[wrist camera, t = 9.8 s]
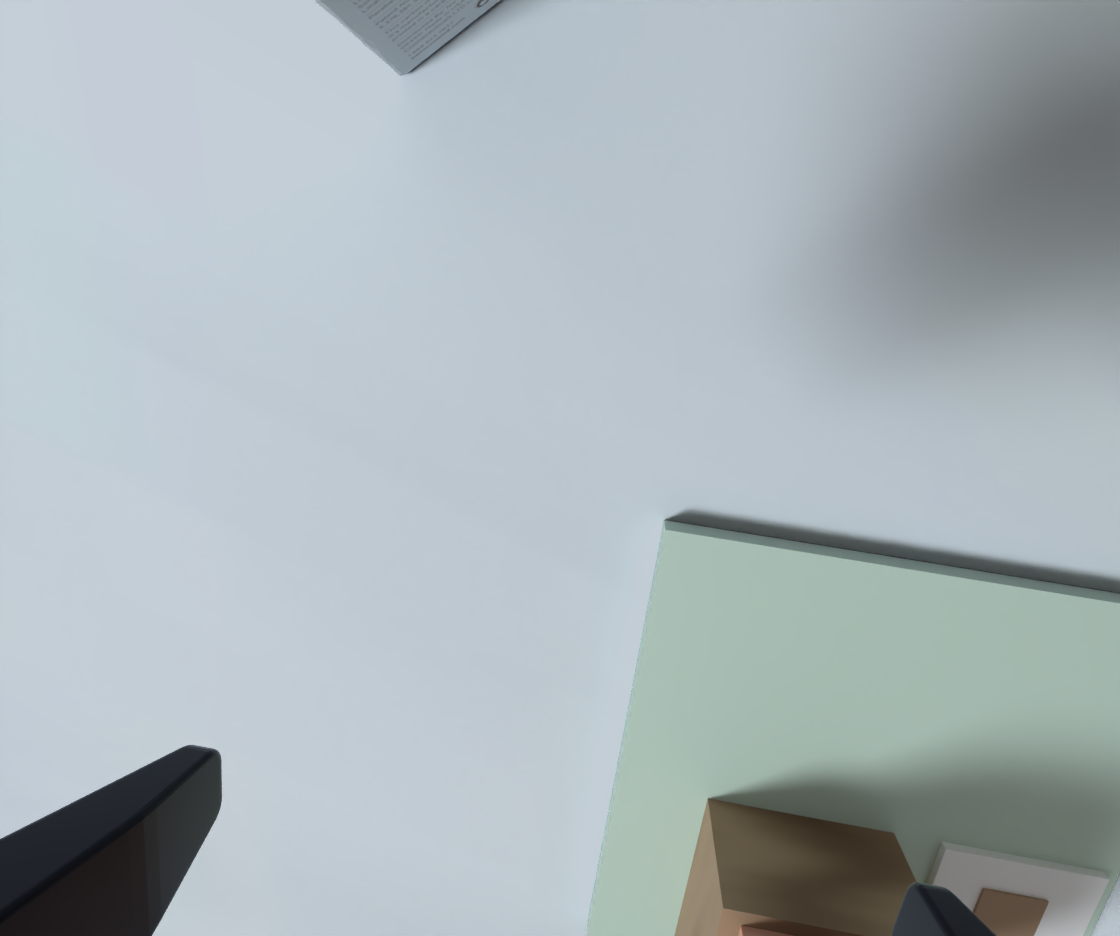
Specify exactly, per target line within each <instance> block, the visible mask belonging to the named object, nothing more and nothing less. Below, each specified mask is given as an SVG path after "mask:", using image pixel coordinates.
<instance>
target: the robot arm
mask: <svg viewBox="0 0 1120 936" xmlns="http://www.w3.org/2000/svg"><path fill="white" fill-rule="evenodd" d="M221 801H222V775H221V756H220V753H219V752H218V751H217V750H215V749H212V748H207V747H201V746H196V745H187V746H184V747H182V748H180V749H178V750H176V751H174V752H172V753H170V754H168V755H166V756H164V757H162V758H160V759H158V760H156V761H154V762H152V763H150V764H148V765H146V766H144V767H142V768H140V769H138V770H136V771H134V772H132V773H130V774H128V775H126V776H124V777H122V778H120V779H118V780H116V781H114V782H112V783H110V784H108V785H106V786H104V787H103V788H101V789H99V790H97V791H95V792H93V793H91V794H89V795H87V796H85V797H83V798H81V799H79V800H77V801H75V802H73V803H71V804H69V805H67V806H65V807H63V808H61V809H59V810H57V811H55V812H53V813H51V814H49V815H47V816H45V817H43V818H41V819H39V820H37V821H35V822H33V823H31V824H29V825H27V826H25V827H23V828H21V829H19V830H17V831H15V832H13V833H11V834H9V835H7V836H5V837H3V838H2V839H0V936H152V935H153V933H154V931H155V929H156V928H157V926H158V924H159V922H160V921H161V919H162V917H163V915H164V913H165V912H166V910H167V908H168V906H169V904H170V902H171V901H172V899H173V897H174V895H175V893H176V891H177V890H178V888H179V886H180V884H181V882H182V880H183V879H184V877H185V875H186V873H187V871H188V869H189V868H190V866H191V864H192V862H193V860H194V858H195V857H196V855H197V853H198V851H199V849H200V847H201V846H202V844H203V842H204V840H205V838H206V836H207V835H208V833H209V831H210V829H211V827H212V825H213V824H214V822H215V820H216V818H217V815H218V813H219V810H220V807H221ZM892 936H996V935H995V934H994V933H993V932H992V931H991V930H990V929H989V928H988V927H987V926H986V925H985V924H984V923H983V922H982V921H981V920H980V919H979V918H978V917H977V916H976V915H975V914H974V913H973V912H972V911H971V910H970V909H969V908H968V907H967V906H966V905H965V904H964V903H963V902H962V901H961V900H960V899H959V898H958V897H957V896H956V895H955V894H953V893H952V892H951V891H950V890H948V889H947V888H944V887H941V886H936V885H931V884H926V883H920V882H914V883H912V884H911V885H910V886H909V887H908V889H907V891H906V894H905V896H904V899H903V902H902V904H901V907H900V910H899V913H898V915H897V918H896V921H895V924H894V926H893V930H892Z"/></svg>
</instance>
